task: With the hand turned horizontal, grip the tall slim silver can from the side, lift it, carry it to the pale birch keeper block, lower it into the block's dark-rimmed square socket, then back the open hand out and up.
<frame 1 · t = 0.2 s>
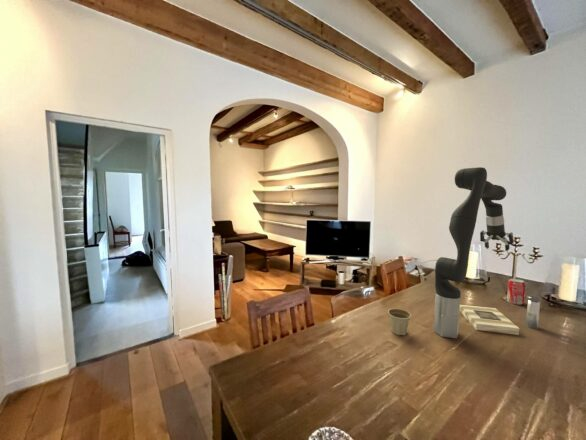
hand: (497, 249, 138), 31 cm above the table, tool tilted 20°, fingers open, 8 cm apart
slim silver can: (531, 326, 115), on the table
flower pot: (398, 332, 110), on the table
soda can: (515, 302, 140), on the table
keeper block: (486, 321, 119), on the table
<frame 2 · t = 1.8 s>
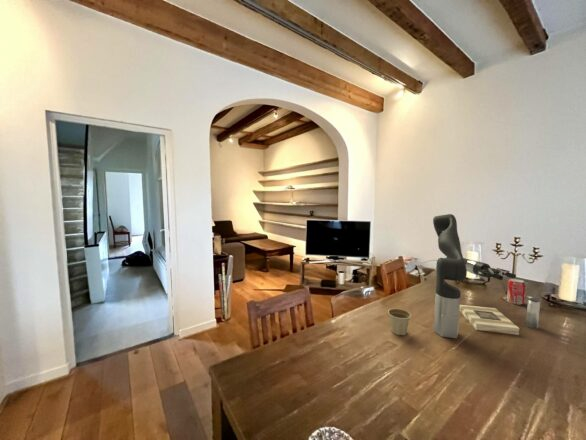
hand: (508, 277, 123), 20 cm above the table, tool horizontal, fingers open, 8 cm apart
nothing on the table moved.
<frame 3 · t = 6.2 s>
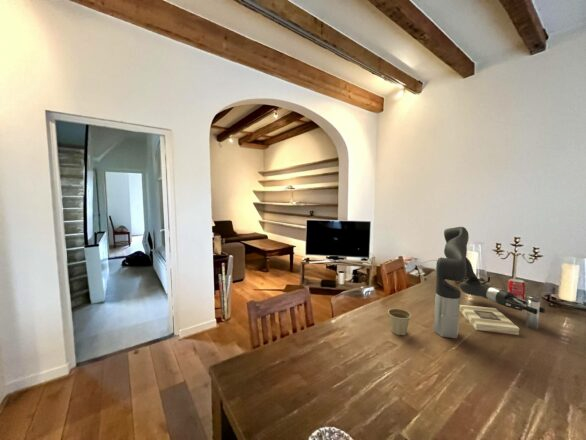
hand: (540, 311, 111), 9 cm above the table, tool horizontal, fingers closed on slim silver can, 4 cm apart
slim silver can: (531, 326, 115), on the table, touching gripper
everything else where it was.
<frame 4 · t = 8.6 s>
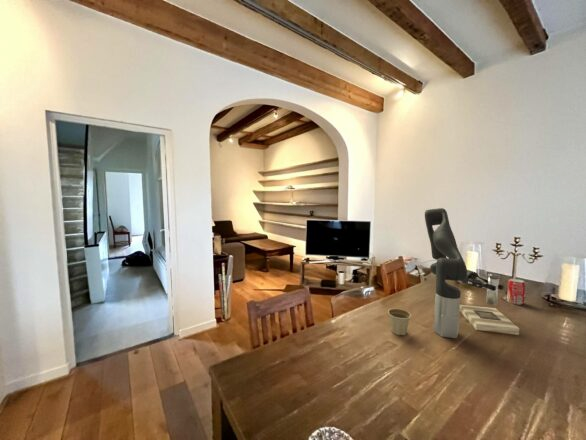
hand: (499, 288, 114), 18 cm above the table, tool horizontal, fingers closed on slim silver can, 4 cm apart
slim silver can: (491, 303, 118), point 9 cm above the table, touching gripper
everything else where it was.
when the fingers open (10 cm above the table, at t = 11.0 s): slim silver can drops 1 cm, resting in keeper block.
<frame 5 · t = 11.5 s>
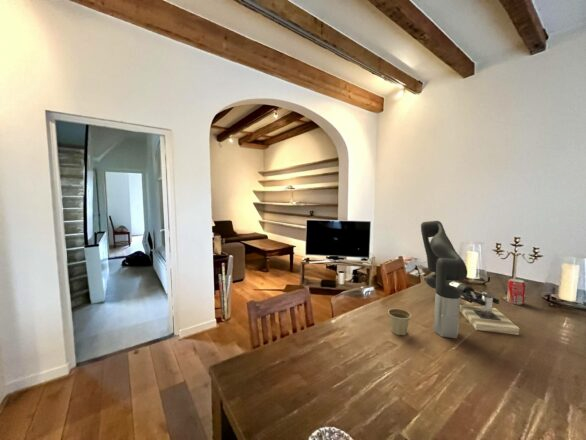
hand: (491, 302, 116), 10 cm above the table, tool horizontal, fingers open, 8 cm apart
slim silver can: (485, 321, 119), resting in keeper block
everything else where it was.
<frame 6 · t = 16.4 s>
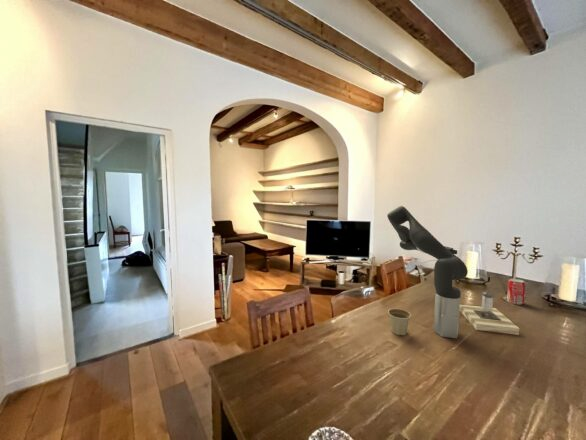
hand: (450, 252, 132), 30 cm above the table, tool horizontal, fingers open, 8 cm apart
nothing on the table moved.
at the end: slim silver can 0.1 cm off-centre on the keeper block, point 0.0 cm above the keeper block's base; slim silver can tilted 0°; the gripper is holding nothing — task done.
